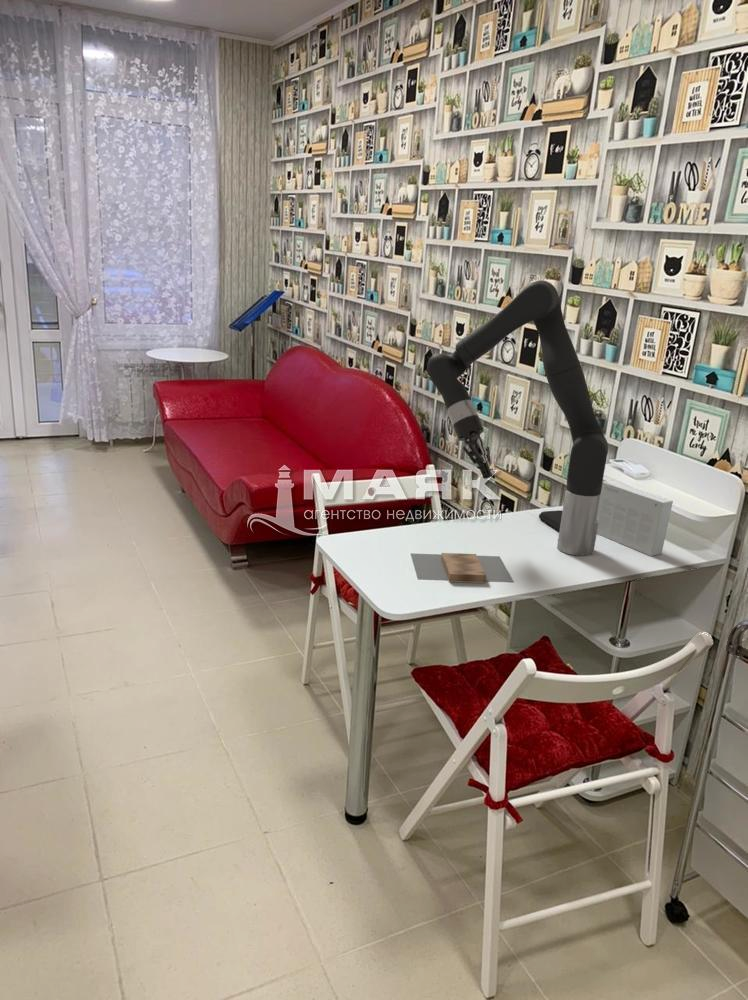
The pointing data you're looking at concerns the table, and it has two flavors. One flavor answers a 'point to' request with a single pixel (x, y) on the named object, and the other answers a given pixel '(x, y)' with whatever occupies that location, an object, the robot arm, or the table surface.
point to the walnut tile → (463, 567)
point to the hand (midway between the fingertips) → (488, 477)
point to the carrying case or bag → (552, 518)
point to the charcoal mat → (434, 570)
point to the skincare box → (633, 517)
